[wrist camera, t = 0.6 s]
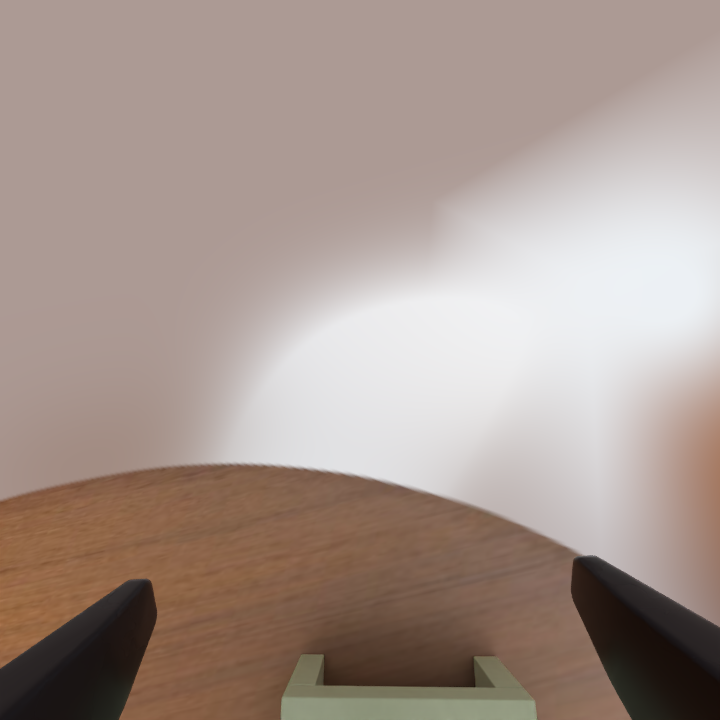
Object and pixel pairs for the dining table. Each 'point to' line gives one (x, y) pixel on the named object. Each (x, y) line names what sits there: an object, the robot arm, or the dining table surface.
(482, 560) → the dining table surface
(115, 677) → the robot arm
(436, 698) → the green box
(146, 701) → the dining table surface
